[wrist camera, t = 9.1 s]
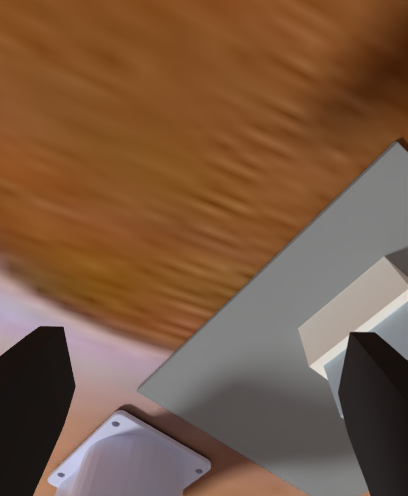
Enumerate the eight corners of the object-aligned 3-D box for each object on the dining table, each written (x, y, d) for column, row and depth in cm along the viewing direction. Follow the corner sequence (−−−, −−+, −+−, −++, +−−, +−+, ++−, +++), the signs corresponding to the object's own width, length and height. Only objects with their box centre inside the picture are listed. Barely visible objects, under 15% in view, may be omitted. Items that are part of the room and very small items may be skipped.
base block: (368, 381, 23) (388, 423, 21) (297, 328, 22) (309, 366, 19) (455, 320, 21) (490, 358, 18) (383, 255, 20) (410, 287, 17)
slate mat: (332, 506, 29) (333, 510, 29) (137, 387, 25) (137, 391, 24) (599, 349, 22) (604, 353, 22) (395, 140, 17) (397, 142, 17)
